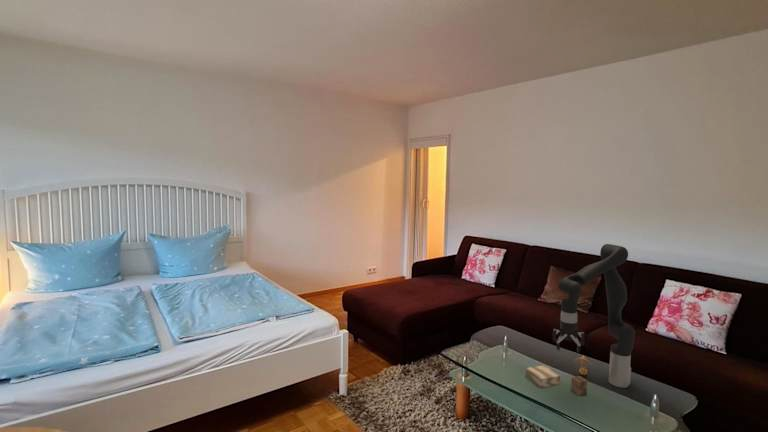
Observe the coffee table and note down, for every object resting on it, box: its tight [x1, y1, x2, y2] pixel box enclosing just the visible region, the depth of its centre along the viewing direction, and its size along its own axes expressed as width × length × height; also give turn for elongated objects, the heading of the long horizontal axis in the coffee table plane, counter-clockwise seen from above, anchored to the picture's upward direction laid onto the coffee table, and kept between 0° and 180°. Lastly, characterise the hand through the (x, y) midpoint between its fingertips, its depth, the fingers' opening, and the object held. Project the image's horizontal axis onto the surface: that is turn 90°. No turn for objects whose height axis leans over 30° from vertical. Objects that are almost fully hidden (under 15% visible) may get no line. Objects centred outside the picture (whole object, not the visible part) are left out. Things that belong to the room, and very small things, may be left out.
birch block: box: [525, 364, 561, 388], centre depth 211 cm, size 12×12×5 cm
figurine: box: [574, 354, 593, 376], centre depth 215 cm, size 8×6×12 cm
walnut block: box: [570, 375, 588, 396], centre depth 200 cm, size 5×5×7 cm
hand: (568, 351), depth 194 cm, fingers open, 8 cm apart
